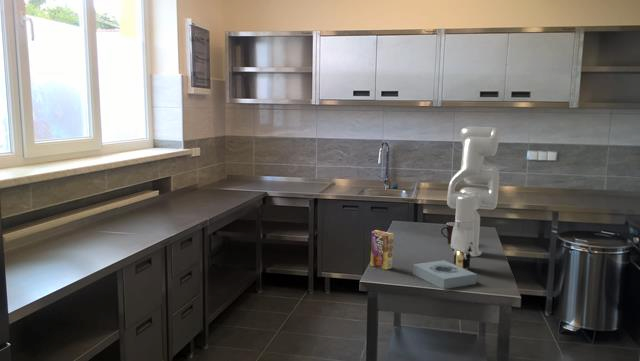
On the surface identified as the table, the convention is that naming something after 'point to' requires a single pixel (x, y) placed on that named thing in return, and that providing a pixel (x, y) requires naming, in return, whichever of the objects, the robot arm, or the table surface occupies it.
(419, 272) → the plate
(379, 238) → the candy box
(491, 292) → the table surface
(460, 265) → the bushing
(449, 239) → the coffee mug
